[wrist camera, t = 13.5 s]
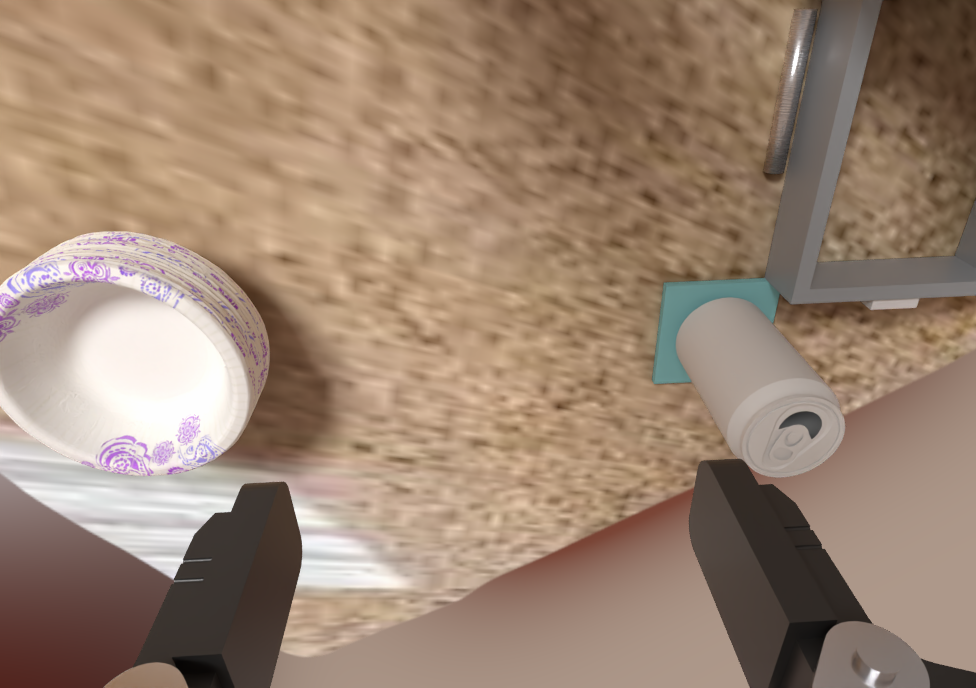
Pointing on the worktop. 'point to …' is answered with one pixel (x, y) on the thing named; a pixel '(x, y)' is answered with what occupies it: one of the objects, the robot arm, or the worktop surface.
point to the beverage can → (759, 389)
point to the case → (814, 178)
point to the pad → (686, 299)
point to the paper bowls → (130, 354)
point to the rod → (789, 89)
